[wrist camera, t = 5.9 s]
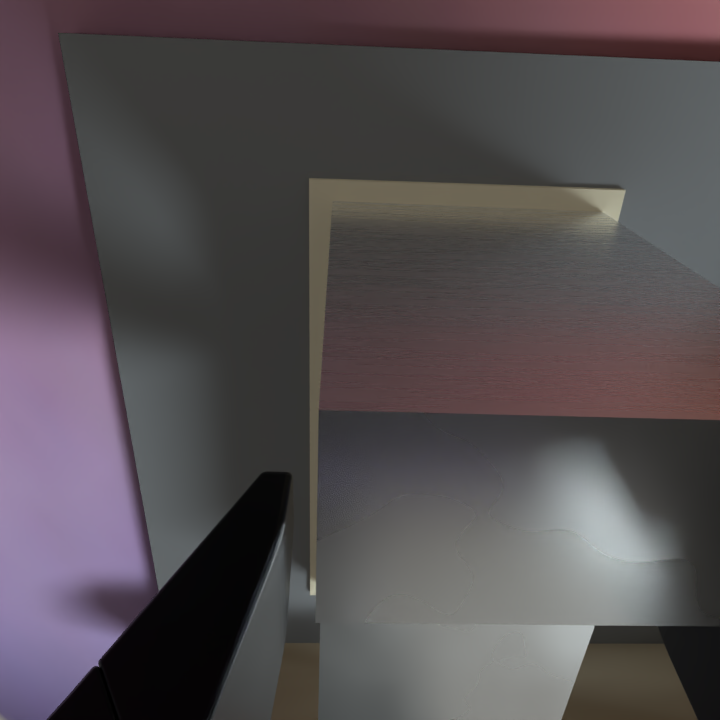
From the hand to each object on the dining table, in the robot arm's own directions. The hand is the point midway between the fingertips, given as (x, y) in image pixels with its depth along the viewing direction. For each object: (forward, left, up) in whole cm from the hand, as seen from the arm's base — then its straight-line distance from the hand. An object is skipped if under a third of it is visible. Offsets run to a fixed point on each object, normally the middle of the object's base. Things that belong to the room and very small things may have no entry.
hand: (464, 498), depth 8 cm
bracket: (0, 0, -2) cm, 2 cm away
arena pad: (-1, -1, -3) cm, 3 cm away
